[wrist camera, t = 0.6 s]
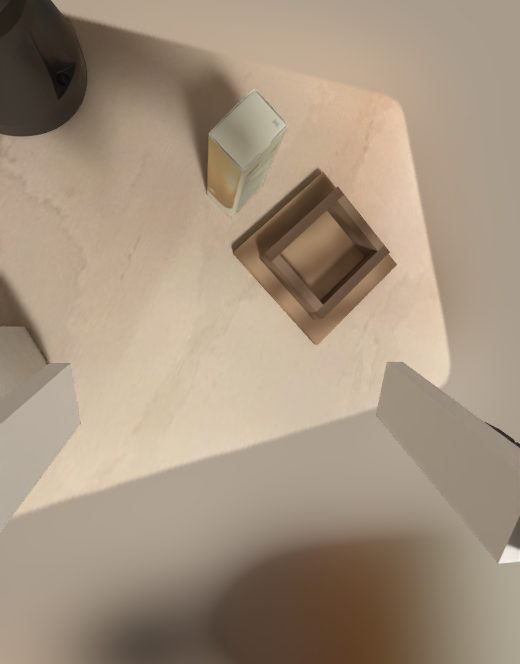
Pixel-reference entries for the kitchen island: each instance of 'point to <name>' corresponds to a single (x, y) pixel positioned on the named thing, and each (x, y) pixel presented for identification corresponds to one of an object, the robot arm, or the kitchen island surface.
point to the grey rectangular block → (17, 358)
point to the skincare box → (242, 151)
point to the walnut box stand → (316, 258)
